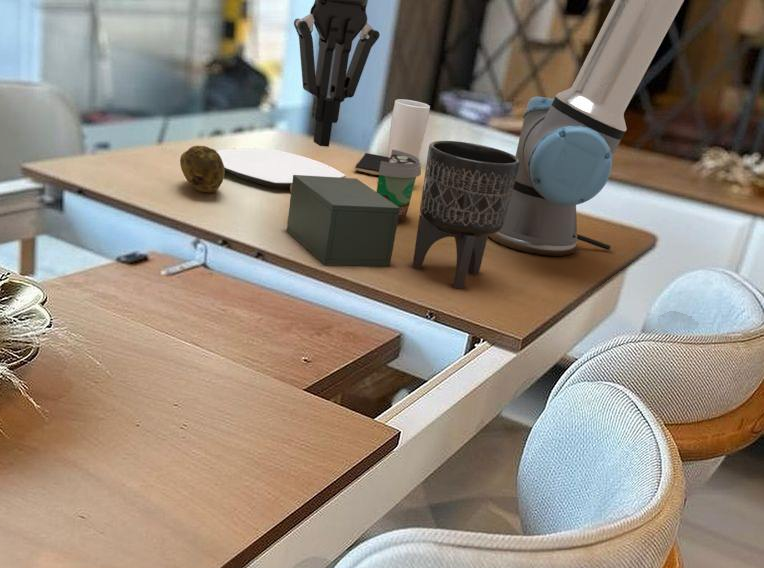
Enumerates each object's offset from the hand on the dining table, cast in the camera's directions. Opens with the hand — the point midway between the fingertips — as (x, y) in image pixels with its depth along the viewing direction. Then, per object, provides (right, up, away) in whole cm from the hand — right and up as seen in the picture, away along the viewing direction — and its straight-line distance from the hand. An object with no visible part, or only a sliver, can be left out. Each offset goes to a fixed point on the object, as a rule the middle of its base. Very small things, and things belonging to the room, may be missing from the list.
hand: (321, 144), depth 154 cm
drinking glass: (+14, +7, +41) cm, 44 cm away
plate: (-10, +6, +32) cm, 34 cm away
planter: (+19, -21, -4) cm, 29 cm away
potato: (-21, -3, +14) cm, 25 cm away
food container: (+12, -6, +19) cm, 23 cm away
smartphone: (+10, +14, +51) cm, 53 cm away
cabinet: (+2, -16, -1) cm, 17 cm away
